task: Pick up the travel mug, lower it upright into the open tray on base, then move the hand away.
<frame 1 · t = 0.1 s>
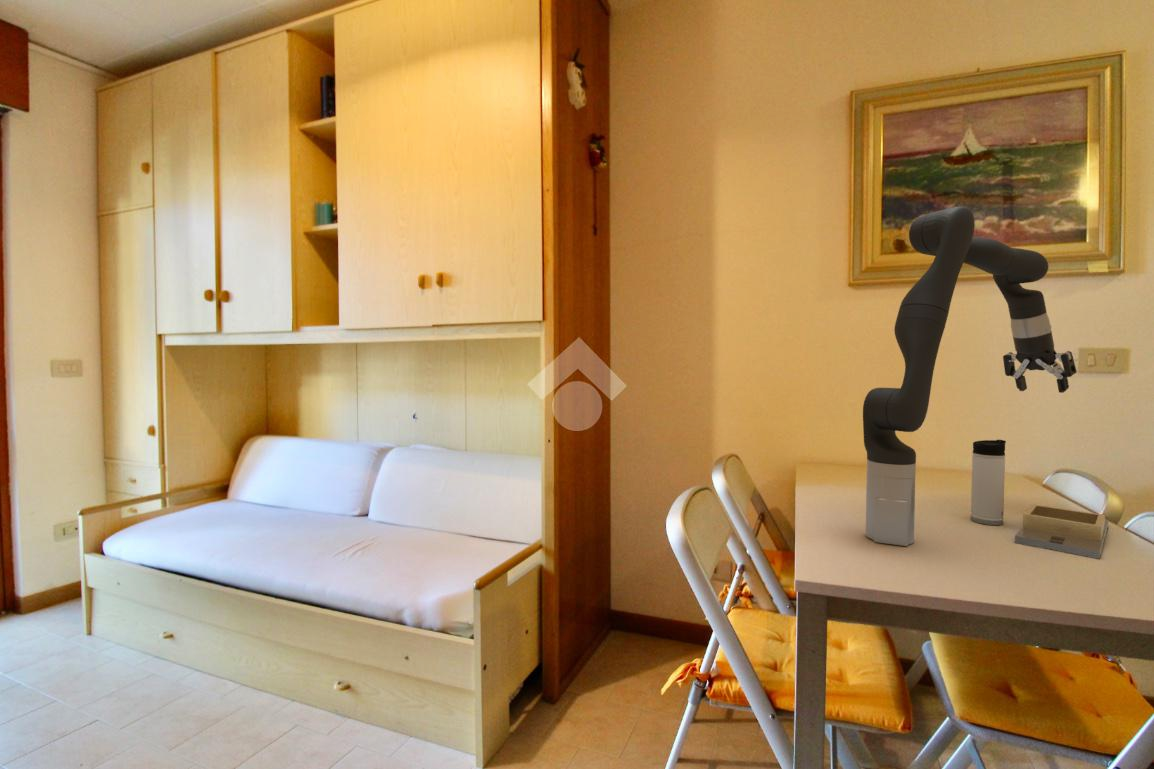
hand: (1042, 390, 137), 31 cm above the table, tool tilted 20°, fingers open, 8 cm apart
travel mug: (987, 522, 128), on the table
open tray on base: (1063, 534, 119), on the table
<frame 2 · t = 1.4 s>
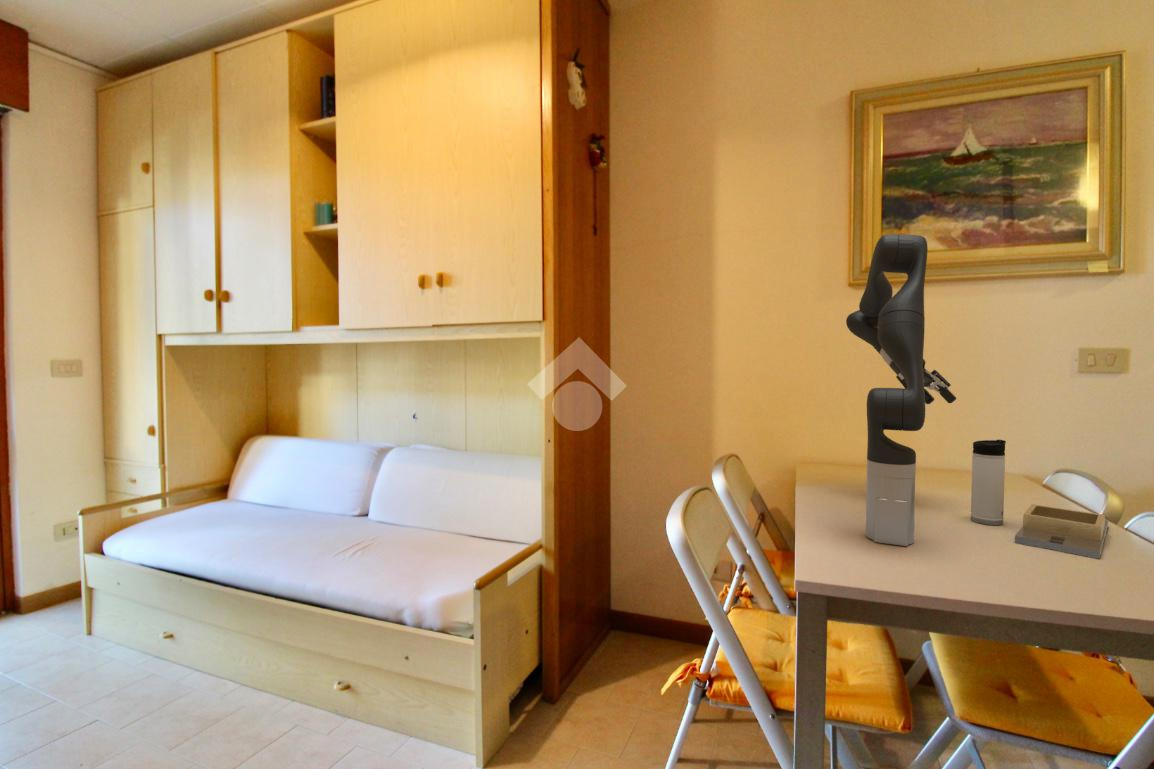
hand: (942, 401, 138), 29 cm above the table, tool tilted 45°, fingers open, 8 cm apart
nothing on the table moved.
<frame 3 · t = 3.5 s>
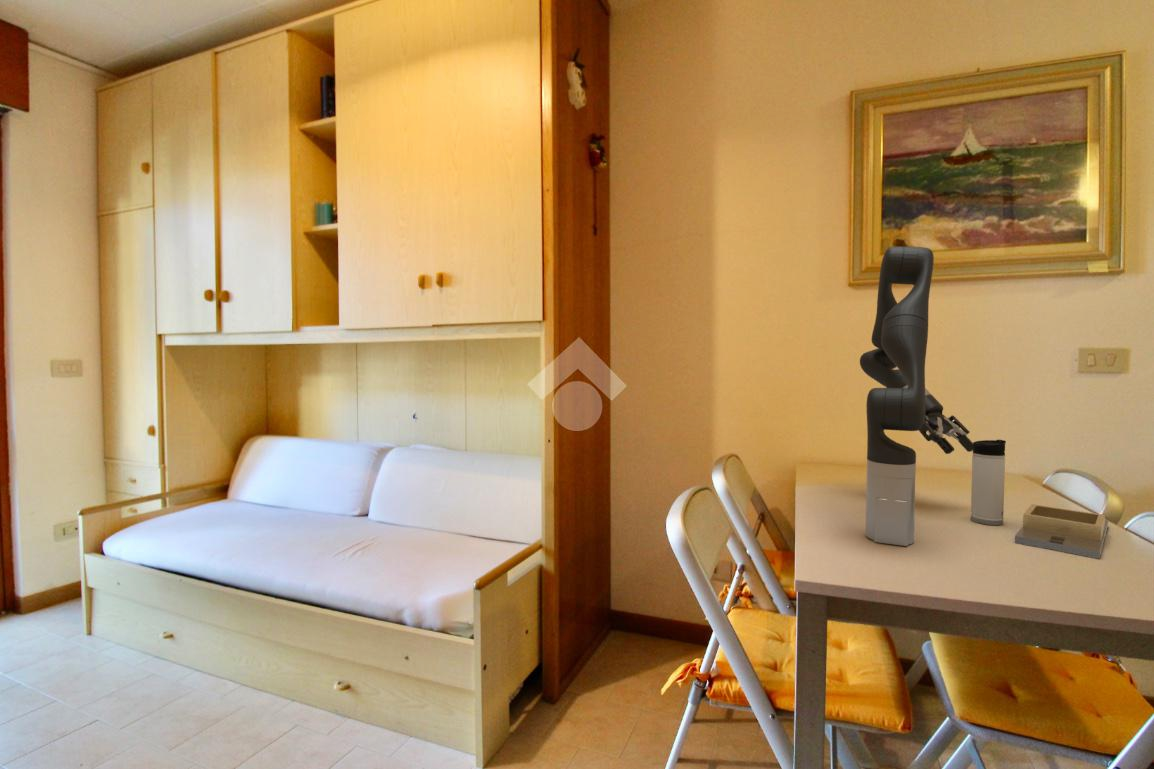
hand: (962, 450, 133), 16 cm above the table, tool tilted 45°, fingers open, 8 cm apart
nothing on the table moved.
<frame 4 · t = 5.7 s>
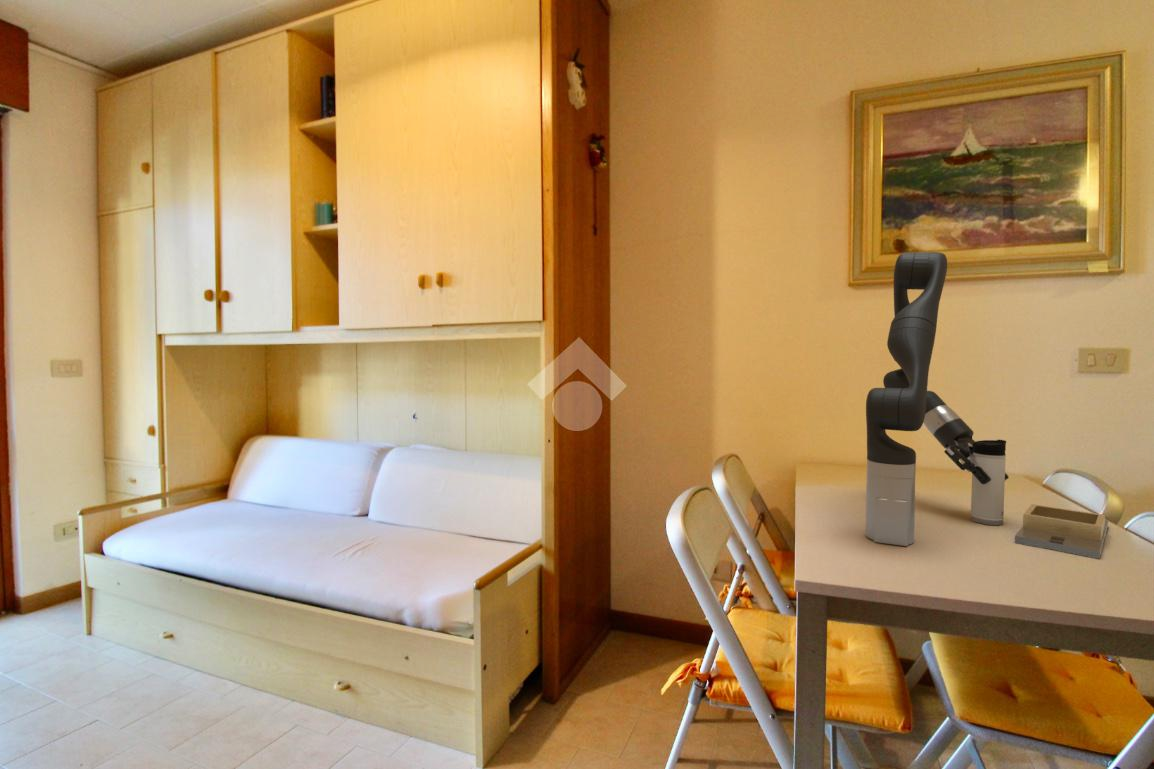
hand: (996, 481, 126), 10 cm above the table, tool tilted 45°, fingers closed on travel mug, 6 cm apart
travel mug: (987, 522, 128), on the table, touching gripper
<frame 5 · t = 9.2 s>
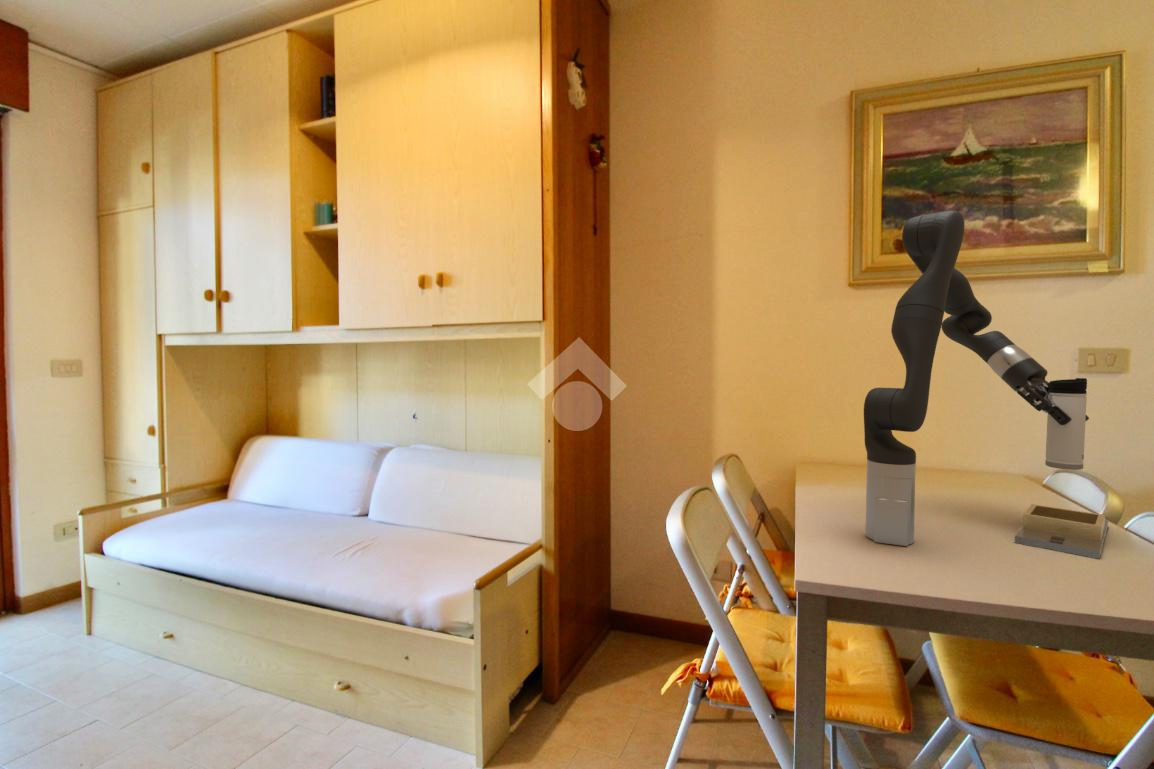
hand: (1075, 422, 116), 26 cm above the table, tool tilted 45°, fingers closed on travel mug, 6 cm apart
travel mug: (1064, 468, 118), point 15 cm above the table, touching gripper
when the fingers open (13 cm above the table, at t = 12.5 s): travel mug drops 1 cm, resting on open tray on base.
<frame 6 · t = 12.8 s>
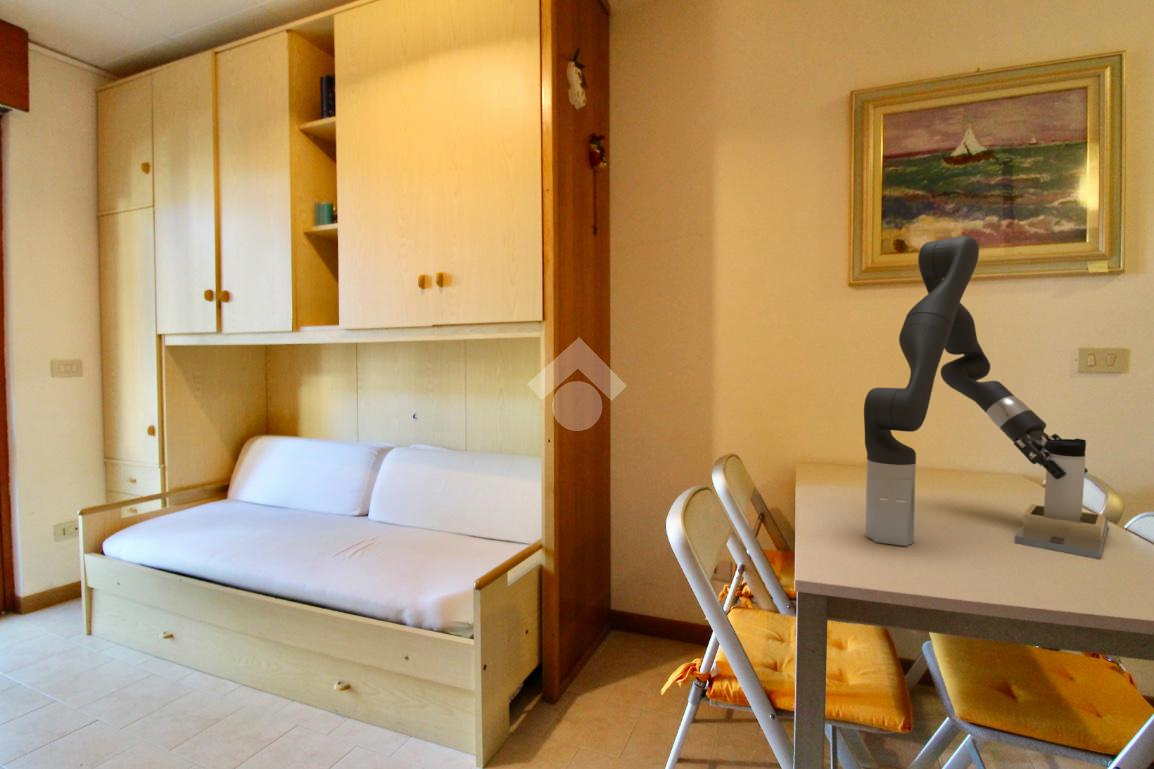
hand: (1073, 475, 117), 14 cm above the table, tool tilted 45°, fingers open, 8 cm apart
travel mug: (1062, 527, 119), point 1 cm above the table, touching open tray on base
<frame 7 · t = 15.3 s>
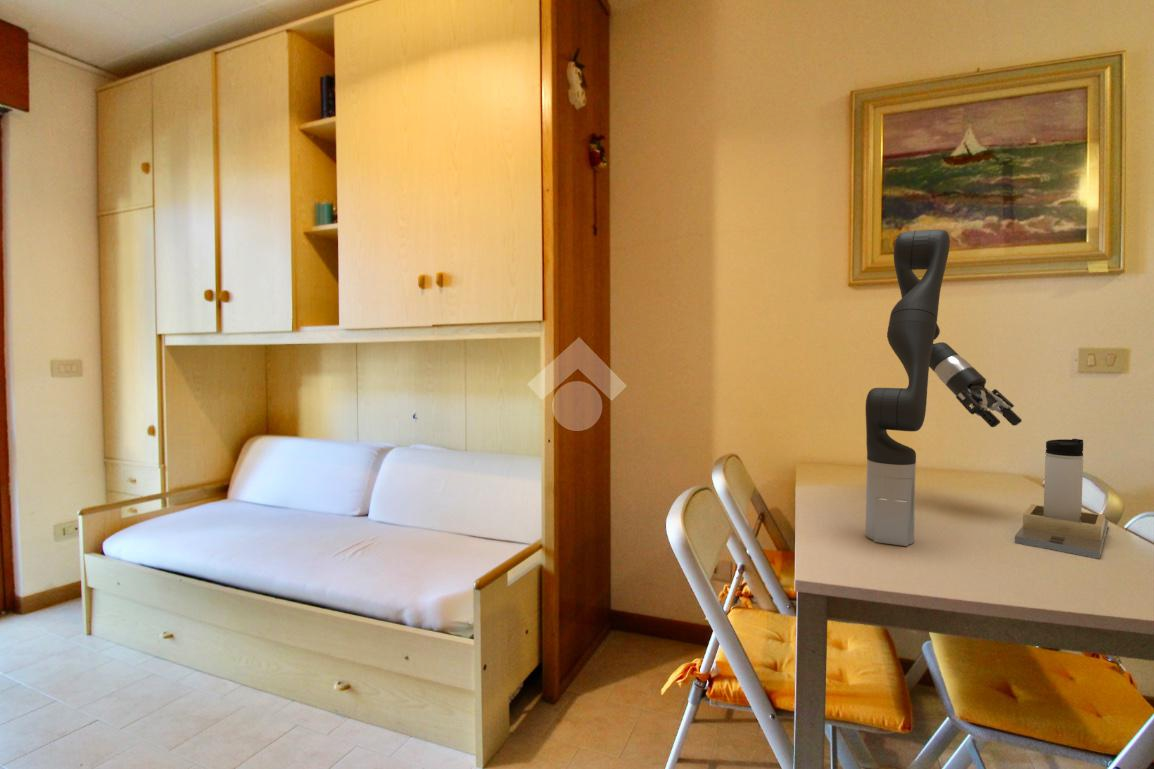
hand: (1007, 424, 128), 24 cm above the table, tool tilted 45°, fingers open, 8 cm apart
nothing on the table moved.
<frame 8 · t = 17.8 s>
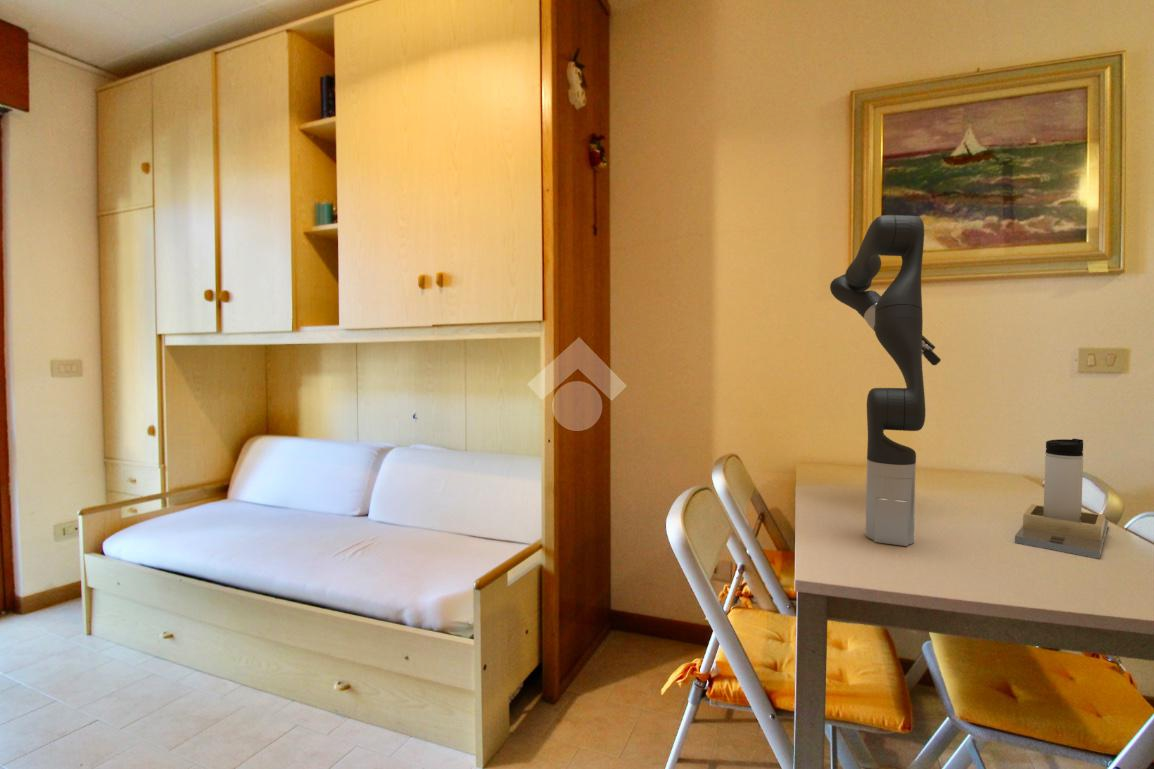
hand: (926, 363, 134), 39 cm above the table, tool tilted 45°, fingers open, 8 cm apart
nothing on the table moved.
at the end: travel mug 0.3 cm off-centre on the open tray on base, point 1.3 cm above the open tray on base's base; travel mug tilted 0°; the gripper is holding nothing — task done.
